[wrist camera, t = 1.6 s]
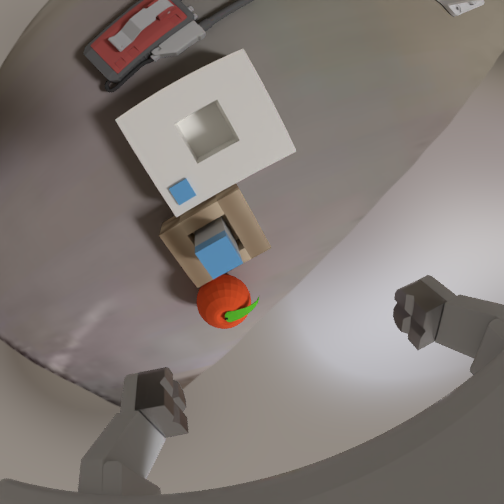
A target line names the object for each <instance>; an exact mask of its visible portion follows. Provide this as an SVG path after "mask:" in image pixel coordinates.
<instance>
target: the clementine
mask: <svg viewBox="0 0 504 504" xmlns="http://www.w3.org/2000/svg"><path fill="white" fill-rule="evenodd" d="M258 300H259V297H258V299H257V301H256V302H254V303H253V304H251V298H250V293H249V291H248V289H247V287H246V285H245V284H244V283H243V282H242V281H241V280H239V279H237V278H236V277H234V276H231V275H224V274H223V275H221V276H219V277H217V278H215V279H213V280H211V281H210V282H208V283H206V284H204V285H202V286H201V287H200V289H199V292H198V295H197V307H198V311H199V314H200V315H201V317H202V318H203V319H204V320H205V321H206V322H207V323H208V324H209V325H212V326H214V327H217V328H221V329H227V328H232V327H234V326H237V325H238V324H239V323H241V322H242V321H243V320H244V319H245V318H246V317H247V315H248V313H249V312H250V311H252V310H253V309H254V308H255V306H256V304H257V303H258Z"/></svg>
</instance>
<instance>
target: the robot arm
mask: <svg viewBox="0 0 504 504" xmlns="http://www.w3.org/2000/svg"><path fill="white" fill-rule="evenodd" d="M437 1H438V2H440V3H441V4H442V5H443V6H444V7H445V8H446V9H447V11H448V12H449V13H450V14H451V15H453V16H458V15H460V14H462V13H465V12H467V11H469V10H472V9H474V8H476V7H479V6H481V5H484V0H437ZM395 300H396V301H397V304H396V306H395V307H394V312H393V317H394V320H395V323H396V325H397V327H398V328H399V329H400V331H401V332H404V333H408V339H409V341H410V342H411V343H412V344H413V345H414V346H415V347H416V349H417V350H419V349H421V348H423V347H425V346H427V345H429V344H430V343H432V342H434V341H435V342H437V343H439V344H441V345H444V346H446V347H448V348H451V349H453V350H455V351H458V352H460V353H463V354H465V355H468V356H470V357H472V358H474V361H473V363H472V365H471V368H470V372H471V373H472V374H473V376H472V377H471V378H469V379H468V380H467V381H466V382H464V383H463V384H462V385H460V386H459V387H458V388H456V389H455V390H454V391H452V392H451V393H449V394H448V395H447V396H445V397H443V398H442V399H440V400H439V401H438V402H436V403H434V404H433V405H431V406H430V407H429V408H427V409H425V410H424V411H422V412H420V413H419V414H417V415H416V416H414V417H412V418H411V419H409V420H407V421H405V422H403V423H402V424H400V425H398V426H396V427H394V428H392V429H391V430H389V431H387V432H385V433H383V434H381V435H379V436H377V437H375V438H373V439H371V440H369V441H367V442H365V443H362V444H360V445H358V446H356V447H354V448H351V449H349V450H347V451H344V452H342V453H340V454H337V455H335V456H332V457H329V458H327V459H324V460H322V461H319V462H316V463H313V464H310V465H308V466H305V467H302V468H299V469H296V470H292V471H289V472H286V473H282V474H279V475H275V476H272V477H268V478H264V479H260V480H256V481H252V482H247V483H243V484H238V485H233V486H227V487H222V488H216V489H209V490H202V491H195V492H186V493H175V494H163V495H162V494H161V491H160V488H159V487H158V486H157V485H155V484H153V483H151V482H150V481H148V480H147V479H146V478H147V476H148V474H149V472H150V470H151V468H152V466H153V464H154V462H155V460H156V458H157V456H158V454H159V452H160V450H161V448H162V446H163V444H164V442H165V439H166V437H172V436H177V435H182V434H187V433H188V423H187V417H186V416H185V414H184V413H183V411H184V410H185V408H186V400H185V396H184V392H183V390H182V388H181V386H180V384H179V383H178V382H177V381H175V380H173V373H172V372H171V371H170V369H169V368H167V367H165V368H160V369H155V370H150V371H144V372H140V373H135V374H129V375H126V377H125V379H124V386H123V393H122V401H121V410H120V413H117V414H116V415H115V416H114V417H113V419H112V420H111V422H110V423H109V424H108V425H107V427H106V428H105V429H104V431H103V432H102V433H101V435H100V436H99V437H98V438H97V440H96V441H95V442H94V444H93V445H92V446H91V448H90V449H89V450H88V452H87V453H86V454H85V456H84V457H83V458H82V459H81V466H80V475H79V488H78V492H72V491H65V490H58V489H52V488H47V487H42V486H37V485H32V484H28V483H23V482H19V481H16V480H12V479H2V480H1V481H0V504H504V305H502V304H498V303H494V302H489V301H484V300H480V299H476V298H472V297H468V296H463V295H458V296H456V295H455V294H454V293H452V292H451V291H450V290H449V289H447V288H446V287H445V286H444V285H442V284H441V283H440V282H438V281H437V280H436V279H435V278H433V277H432V276H429V275H427V276H425V277H423V278H421V279H419V280H418V281H415V282H413V283H411V284H409V285H407V286H404V287H402V288H400V289H398V290H397V291H396V293H395Z"/></svg>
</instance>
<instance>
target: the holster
mask: <svg viewBox="0 0 504 504" xmlns="http://www.w3.org/2000/svg"><path fill="white" fill-rule="evenodd" d="M220 216H223V218H224V220H225V221H226V223H227V225H228V226H229V228H230V230H231V231H232V233H233V235H234V236H235V240H236V243H237V246H238V249H239V252H240V255H241V258H242V261H243V263H245V262H246V261H248V260H250V259H252V258H254V257H256V256H257V255H259V254H261V253H263V252H265V251H267V250H268V249H270V248H271V246H270V244H269V242H268V240H267V239H266V237H265V235H264V233H263V231H262V229H261V228H260V226H259V224H258V222H257V220H256V218H255V217H254V215H253V213H252V211H251V209H250V208H249V206H248V204H247V202H246V200H245V199H244V197H243V195H242V193H241V191H240V190H239V188H238V186H237V184H236V183H235V184H233V185H232V186H230V187H228V188H226V189H224V190H223V191H221V192H219V193H217V194H216V195H214V196H212V197H210V198H209V199H207V200H205V201H203V202H202V203H200V204H198V205H197V206H195V207H193V208H191V209H190V210H188V211H186V212H185V213H183V214H181V215H180V216H178V217H176V216H173V217H171V218H170V219H168V220H167V221H165V222H163V224H162V227H161V231H160V234H159V236H160V238H161V239H162V241H163V242H164V243H165V245H166V246H167V248H168V249H169V250H170V252H171V253H172V254H173V256H174V257H175V259H176V260H177V261H178V263H179V264H180V265H181V267H182V268H183V269H184V271H185V272H186V273H187V275H188V276H189V277H190V279H191V280H192V281H193V283H194V284H195V285H196V287H197V288H199V287H200V286H202V285H204V284H206V283H208V282H210V281H211V280H213V278H212V277H211V276H210V274H209V273H208V271H207V270H206V269H205V267H204V266H203V264H202V263H201V261H200V260H199V259H198V257H197V256H196V254H195V231H196V230H198V229H199V228H201V227H203V226H205V225H206V224H208V223H210V222H212V221H213V220H215V219H217V218H219V217H220Z"/></svg>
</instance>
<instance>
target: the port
mask: <svg viewBox="0 0 504 504" xmlns="http://www.w3.org/2000/svg"><path fill="white" fill-rule="evenodd" d="M115 121H116V122H117V124H118V126H119V127H120V129H121V131H122V132H123V134H124V136H125V137H126V139H127V141H128V142H129V144H130V145H131V147H132V149H133V150H134V152H135V154H136V155H137V157H138V158H139V160H140V162H141V163H142V165H143V166H144V168H145V170H146V171H147V173H148V174H149V176H150V178H151V179H152V181H153V182H154V184H155V185H156V187H157V189H158V190H159V192H160V193H161V195H162V196H163V198H164V199H165V201H166V202H167V204H168V206H169V207H170V209H171V210H172V212H173V213H174V215H175V216H176V217H178V216H180V215H181V214H183V213H185V212H186V211H188V210H190V209H191V208H193V207H195V206H197V205H198V204H200V203H202V202H203V201H205V200H207V199H209V198H210V197H212V196H214V195H216V194H217V193H219V192H221V191H223V190H224V189H226V188H228V187H230V186H232V185H233V184H235V183H237V182H239V181H241V180H243V179H244V178H246V177H248V176H250V175H252V174H254V173H256V172H257V171H259V170H261V169H263V168H265V167H267V166H269V165H271V164H273V163H275V162H277V161H279V160H281V159H282V158H284V157H286V156H288V155H290V154H292V153H294V152H296V149H295V147H294V145H293V143H292V141H291V138H290V136H289V134H288V132H287V130H286V128H285V126H284V124H283V122H282V120H281V118H280V116H279V114H278V112H277V110H276V108H275V106H274V104H273V102H272V100H271V98H270V96H269V94H268V92H267V91H266V89H265V87H264V85H263V83H262V81H261V79H260V77H259V76H258V74H257V72H256V70H255V68H254V67H253V65H252V63H251V61H250V59H249V58H248V56H247V54H246V52H245V51H244V49H241V50H239V51H236V52H234V53H232V54H229V55H227V56H225V57H223V58H221V59H218V60H216V61H214V62H212V63H210V64H208V65H206V66H204V67H202V68H200V69H198V70H196V71H194V72H192V73H190V74H188V75H186V76H185V77H183V78H181V79H179V80H177V81H175V82H174V83H172V84H170V85H168V86H167V87H165V88H163V89H162V90H160V91H158V92H157V93H155V94H153V95H152V96H150V97H148V98H147V99H145V100H144V101H142V102H141V103H139V104H137V105H136V106H134V107H133V108H131V109H130V110H128V111H127V112H125V113H124V114H123V115H121V116H120V117H118V118H117V119H115Z"/></svg>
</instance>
